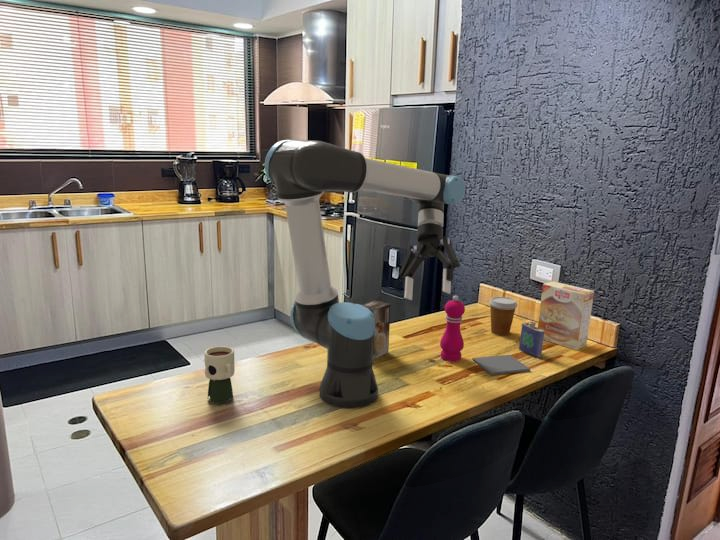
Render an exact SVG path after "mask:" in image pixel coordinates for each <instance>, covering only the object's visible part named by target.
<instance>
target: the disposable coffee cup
mask: <svg viewBox="0 0 720 540" xmlns="http://www.w3.org/2000/svg"><path fill="white" fill-rule="evenodd" d="M488 302H489V306H490V307H489V308H490V332H491V333H492V334H494V335H495V336H496V335H497V336H501V335H502V336H509V335H510V332H511V327H512V323H513V319H514V315H515V312H516V309H517V307H518V304H517V300H516V299H515V298H511V297H508V296H493V297H491V298H490V300H489V301H488Z"/></svg>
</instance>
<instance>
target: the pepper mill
mask: <svg viewBox="0 0 720 540" xmlns="http://www.w3.org/2000/svg"><path fill="white" fill-rule="evenodd" d="M459 299H460V298H459V296H458V295H453V296H452V300H449V301H447V302H446V303H445V305H444V312H445V313H446V314H445V321H446V327H445V328H446V329H445V331H444V333H443V334H442V336H441V339H440V341H439V347H440V349H442V350H441V351H440V358H441V359H442V360H444V361H446V360H447V362H452V361H454V362H459V361H460V360H462V351H463V349H464V347H465V345H464V343H465V342H464V338H463V336H462V335H463V334H462V333H461V322H463V315H464V313H465V311H466V308H465V307H466V306H465V305H464V303H463V301H460V300H459Z"/></svg>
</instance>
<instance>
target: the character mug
mask: <svg viewBox="0 0 720 540" xmlns="http://www.w3.org/2000/svg"><path fill="white" fill-rule="evenodd" d="M203 357H204V359H203V361H204V367H205V368H204V374H205V378H206V379H209V380H208V387H207V388H208V389H207V398H209V403H210V404H211V403H212V404H223V403H226V402H228V401H231V400H232V399H233V398H234V392H233V386H232V380H231V378H232V377H233V376H234V375H235V350H234V347H230V346H227V345H226V346H225V345H218V346H212V347H209V348H207V349H206V350H204V356H203Z"/></svg>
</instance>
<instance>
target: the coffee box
mask: <svg viewBox="0 0 720 540" xmlns="http://www.w3.org/2000/svg"><path fill="white" fill-rule="evenodd" d="M391 304H392V303H388V302H385V301H379V300H375V299H374V300H371V301H368V302H366V303H363V304H361V305H362V306H364V307H366V308H368V309H369V310H370V311H371V312H372V313H373V315H374V325H375V333H374V349H373V361H374V360H376V359H377V358H379V357H382V356H384V355H386V354H388V353H389V347H390V346H389V345H390V344H389V343H390V329H391V327H390V325H391V322H390V321H391Z"/></svg>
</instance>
